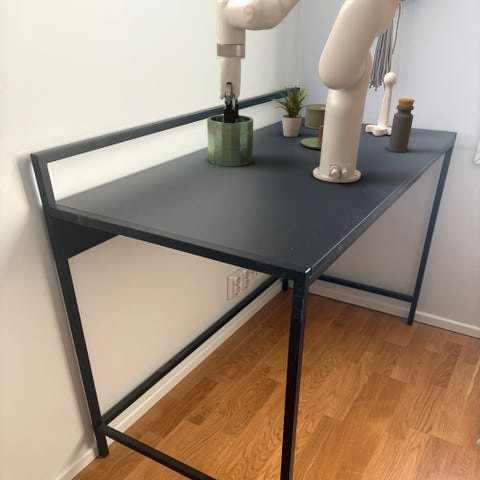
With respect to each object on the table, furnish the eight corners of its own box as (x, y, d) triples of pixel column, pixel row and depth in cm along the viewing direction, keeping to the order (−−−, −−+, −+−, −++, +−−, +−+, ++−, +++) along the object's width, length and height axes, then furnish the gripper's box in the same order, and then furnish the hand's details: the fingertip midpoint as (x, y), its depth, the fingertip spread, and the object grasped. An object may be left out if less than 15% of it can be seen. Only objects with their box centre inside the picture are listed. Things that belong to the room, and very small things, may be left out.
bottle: (404, 148, 159) (414, 98, 151) (408, 152, 154) (418, 101, 146) (386, 147, 160) (395, 97, 152) (389, 152, 155) (398, 100, 147)
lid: (349, 144, 162) (351, 124, 159) (333, 153, 152) (336, 132, 149) (311, 139, 168) (312, 120, 165) (293, 147, 158) (295, 127, 155)
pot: (259, 158, 145) (261, 117, 139) (237, 168, 136) (238, 125, 130) (223, 152, 151) (223, 113, 145) (199, 162, 142) (198, 119, 135)
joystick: (398, 134, 176) (409, 73, 166) (390, 138, 171) (402, 74, 160) (369, 130, 182) (378, 70, 171) (361, 133, 176) (370, 72, 166)
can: (322, 122, 194) (324, 103, 190) (342, 127, 185) (344, 108, 181) (297, 124, 189) (299, 105, 185) (316, 130, 180) (318, 110, 176)
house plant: (284, 128, 182) (287, 80, 174) (317, 133, 176) (322, 83, 167) (264, 135, 172) (266, 84, 164) (298, 140, 166) (302, 88, 157)
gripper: (220, 49, 136) (221, 116, 145) (212, 54, 121) (214, 127, 131) (247, 49, 135) (247, 116, 145) (242, 54, 121) (242, 128, 130)
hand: (231, 121), depth 138 cm, fingers open, 8 cm apart
